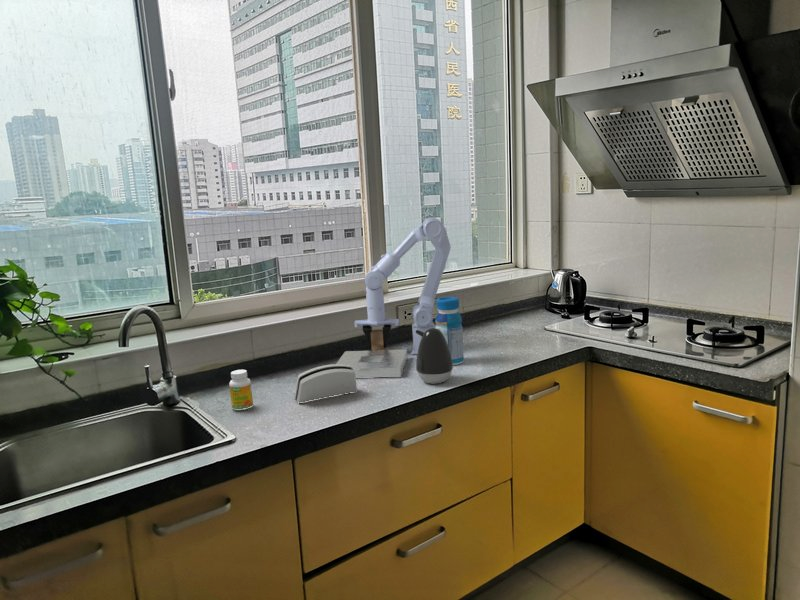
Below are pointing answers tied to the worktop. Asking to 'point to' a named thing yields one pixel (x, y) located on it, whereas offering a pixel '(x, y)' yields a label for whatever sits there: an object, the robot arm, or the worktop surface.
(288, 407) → the worktop surface
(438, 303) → the beverage bottle
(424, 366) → the pump dispenser
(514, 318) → the worktop surface
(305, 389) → the napkin holder
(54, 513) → the worktop surface
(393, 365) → the grey flat square slab
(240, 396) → the supplement bottle
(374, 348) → the wedge peg
